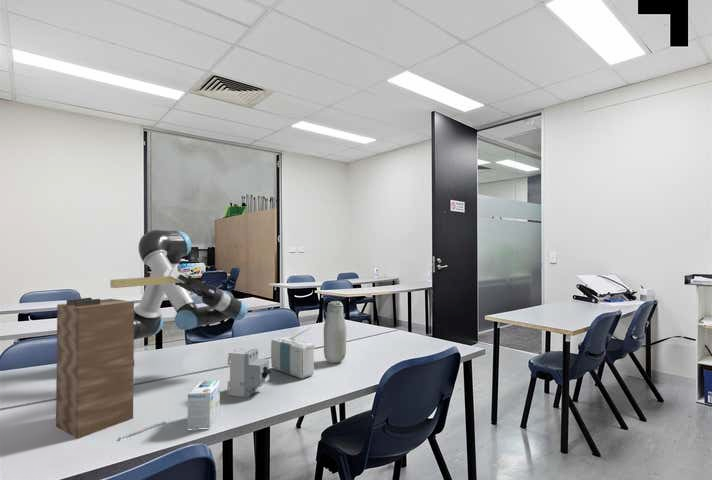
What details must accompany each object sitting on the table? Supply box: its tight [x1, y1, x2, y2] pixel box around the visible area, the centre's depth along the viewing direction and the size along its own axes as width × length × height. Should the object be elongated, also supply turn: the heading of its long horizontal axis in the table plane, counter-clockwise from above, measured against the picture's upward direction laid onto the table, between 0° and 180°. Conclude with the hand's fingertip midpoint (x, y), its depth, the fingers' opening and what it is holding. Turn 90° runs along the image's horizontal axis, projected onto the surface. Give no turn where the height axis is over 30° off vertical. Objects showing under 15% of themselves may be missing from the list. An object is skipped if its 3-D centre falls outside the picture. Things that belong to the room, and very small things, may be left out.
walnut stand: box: [55, 297, 135, 439], centre depth 117 cm, size 14×15×38 cm
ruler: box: [118, 420, 166, 441], centre depth 111 cm, size 12×1×1 cm, turn 144°
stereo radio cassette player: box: [270, 326, 316, 380], centre depth 162 cm, size 21×8×20 cm, turn 47°
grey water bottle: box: [323, 300, 347, 364], centre depth 176 cm, size 10×10×28 cm
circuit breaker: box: [227, 347, 272, 398], centre depth 140 cm, size 8×14×15 cm, turn 78°
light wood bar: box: [109, 274, 191, 289], centre depth 132 cm, size 3×26×2 cm, turn 147°
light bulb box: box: [187, 380, 221, 429], centre depth 116 cm, size 11×7×11 cm, turn 5°
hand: (167, 272), depth 137 cm, fingers closed on light wood bar, 3 cm apart
